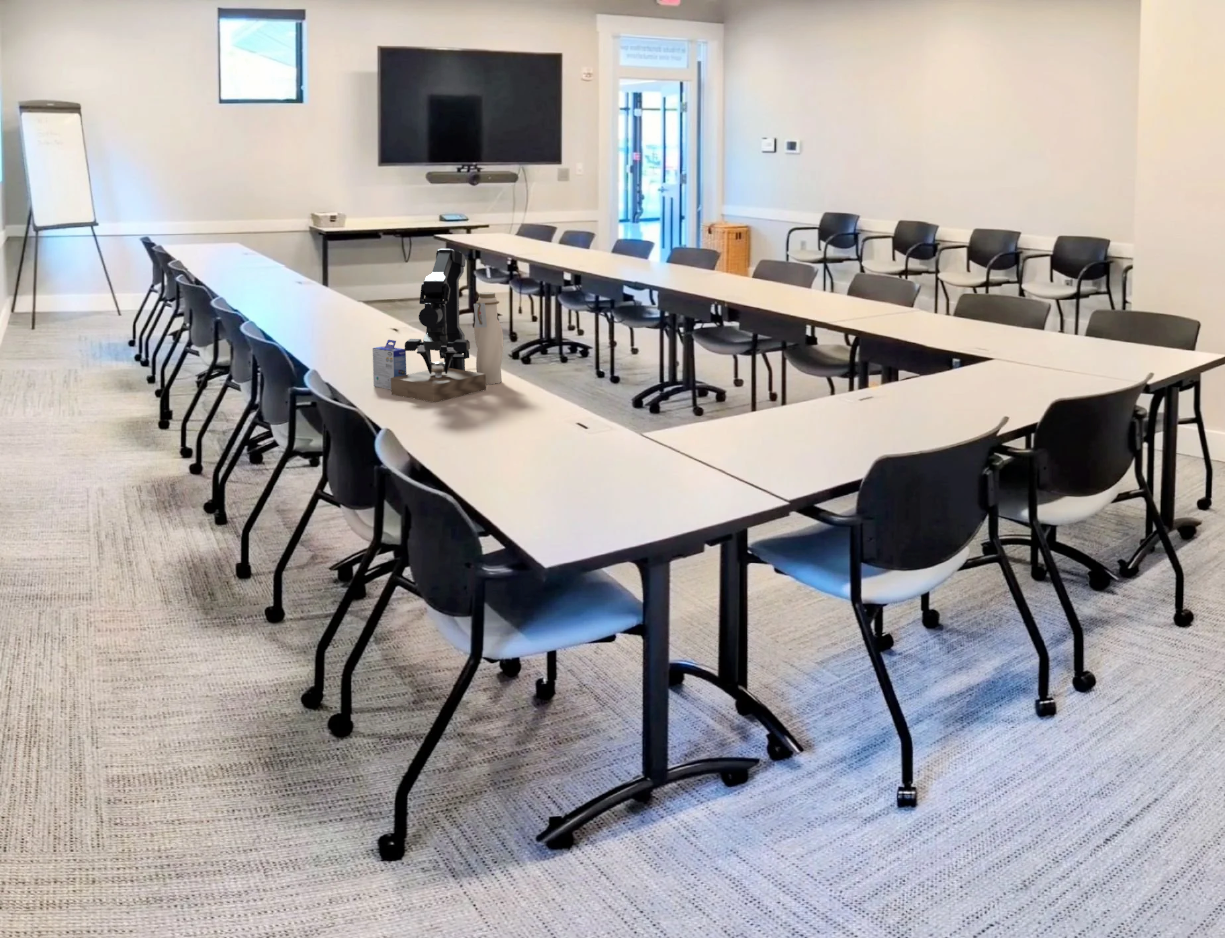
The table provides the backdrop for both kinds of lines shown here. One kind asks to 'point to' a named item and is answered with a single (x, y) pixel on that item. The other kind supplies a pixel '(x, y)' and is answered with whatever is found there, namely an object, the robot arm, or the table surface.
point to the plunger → (438, 368)
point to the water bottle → (488, 338)
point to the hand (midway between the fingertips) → (438, 373)
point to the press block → (438, 385)
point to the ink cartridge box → (388, 364)
